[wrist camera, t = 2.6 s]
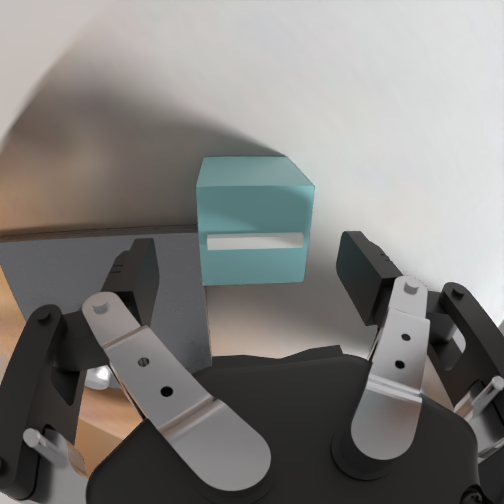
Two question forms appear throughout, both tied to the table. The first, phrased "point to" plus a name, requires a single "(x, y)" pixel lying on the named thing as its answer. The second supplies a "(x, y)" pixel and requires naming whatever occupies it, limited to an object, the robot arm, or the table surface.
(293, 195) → the teal cube with window
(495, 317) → the table surface
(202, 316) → the post base
